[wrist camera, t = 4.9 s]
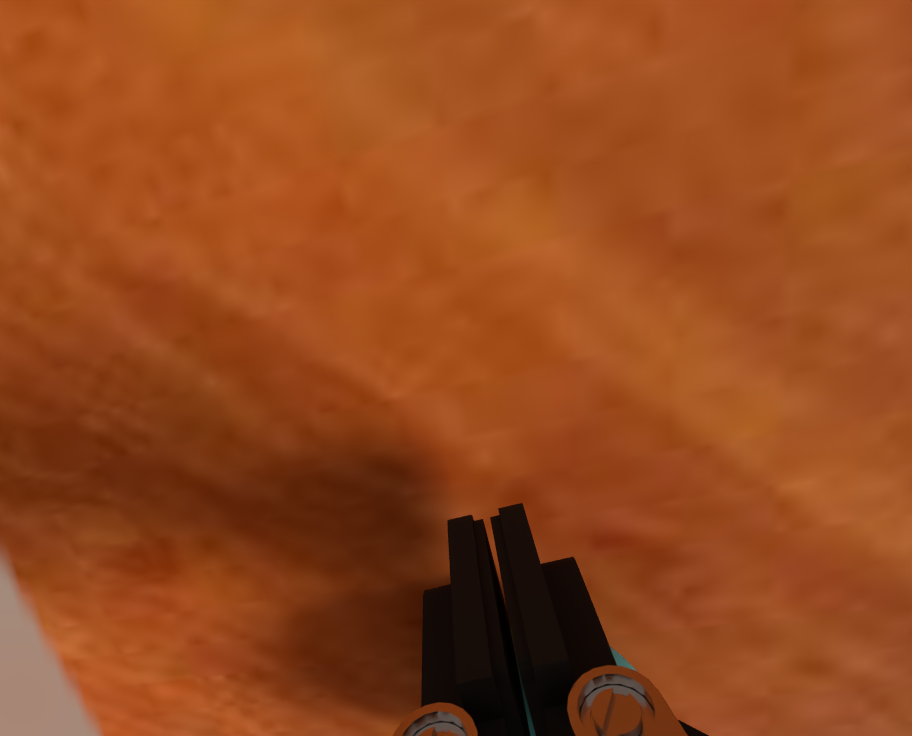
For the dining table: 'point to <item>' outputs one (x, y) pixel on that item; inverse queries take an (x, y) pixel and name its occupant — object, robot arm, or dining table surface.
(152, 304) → the dining table surface
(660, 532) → the dining table surface
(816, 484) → the dining table surface
